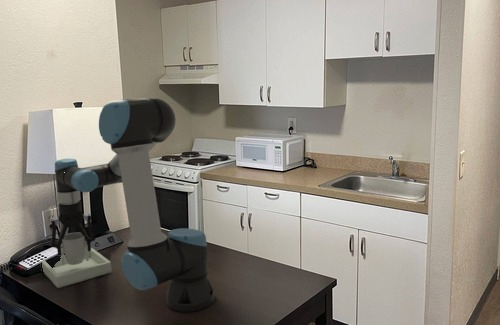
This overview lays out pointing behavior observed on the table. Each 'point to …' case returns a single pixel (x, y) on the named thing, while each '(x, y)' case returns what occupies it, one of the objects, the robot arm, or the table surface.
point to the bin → (77, 269)
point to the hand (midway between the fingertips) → (75, 261)
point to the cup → (74, 248)
